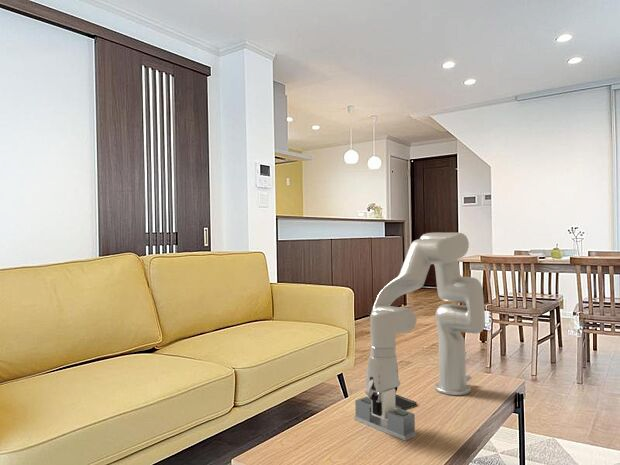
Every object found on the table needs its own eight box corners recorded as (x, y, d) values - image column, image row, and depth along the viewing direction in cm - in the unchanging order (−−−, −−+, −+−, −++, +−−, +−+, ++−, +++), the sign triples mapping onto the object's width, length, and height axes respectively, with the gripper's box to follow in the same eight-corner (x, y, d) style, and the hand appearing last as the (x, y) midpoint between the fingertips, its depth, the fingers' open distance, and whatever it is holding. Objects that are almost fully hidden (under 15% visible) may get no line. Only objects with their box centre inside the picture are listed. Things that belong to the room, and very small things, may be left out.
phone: (386, 390, 170) (418, 402, 157) (386, 393, 170) (418, 406, 157) (370, 395, 165) (401, 408, 153) (370, 398, 165) (402, 411, 153)
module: (382, 410, 143) (382, 384, 143) (395, 415, 139) (395, 388, 139) (371, 414, 140) (371, 387, 140) (384, 419, 136) (384, 391, 136)
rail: (365, 415, 149) (365, 395, 149) (416, 435, 134) (415, 413, 134) (354, 419, 146) (354, 399, 146) (405, 441, 131) (404, 418, 131)
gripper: (391, 345, 148) (392, 402, 148) (354, 354, 137) (354, 415, 137) (410, 349, 142) (411, 408, 142) (373, 359, 131) (373, 423, 131)
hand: (383, 411), depth 140 cm, fingers closed on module, 5 cm apart
